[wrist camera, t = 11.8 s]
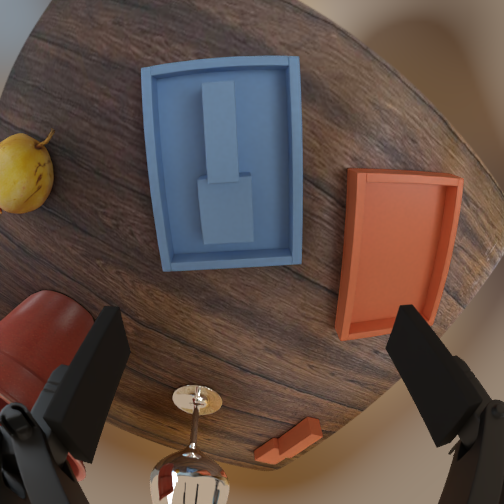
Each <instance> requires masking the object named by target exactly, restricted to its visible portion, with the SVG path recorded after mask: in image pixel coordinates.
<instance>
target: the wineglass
mask: <svg viewBox="0 0 504 504" xmlns="http://www.w3.org/2000/svg"><path fill="white" fill-rule="evenodd" d="M173 401H174V403H175V405H176V406H177V407H178V408H180V409H181V410H183V411H185V412H188V413H191V414H192V424H191V433H190V442H189V445H188V446H187V447H186V448H184V449H182V450H180V451H178V452H175V453H173V454H171V455H168V456H166V457H165V458H164V459H162V460H160V461H159V462H158V463H157V464H156V465H155V467H154V468H153V470H152V472H151V476H150V488H151V497H152V503H153V504H226V502H227V499H228V494H229V480H228V477H227V475H226V474H225V472H224V470H223V469H222V468H221V467H220V466H219V465H218V464H217V463H216V462H215V461H214V460H212V459H211V458H209V457H208V456H207V455H205V454H204V453H203V452H201V451H200V449H199V448H198V447H197V430H198V419H199V415H206V414H211V413H214V412H216V411H217V410H219V409H220V407H221V405H222V398H221V396H220V395H219V393H218V392H216V391H215V390H213V389H212V388H209V387H207V386H203V385H198V384H189V385H184V386H181V387H179V388H177V389H176V390H175V391H174V393H173Z"/></svg>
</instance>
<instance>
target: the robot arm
mask: <svg viewBox="0 0 504 504" xmlns="http://www.w3.org/2000/svg"><path fill="white" fill-rule="evenodd" d="M386 350H387V352H388V354H389V356H390V357H391V359H392V361H393V363H394V365H395V366H396V368H397V370H398V372H399V374H400V376H401V377H402V379H403V381H404V383H405V385H406V387H407V388H408V391H409V393H410V395H411V396H412V398H413V400H414V402H415V404H416V406H417V408H418V410H419V412H420V414H421V416H422V418H423V420H424V422H425V424H426V426H427V428H428V430H429V432H430V434H431V436H432V439H433V441H434V443H435V445H436V447H440V446H443V445H446V444H448V443H450V442H451V441H452V440H453V439H454V438H455V437H456V435H457V434H458V435H459V438H460V440H459V441H458V442H457V443H456V444H455V446H454V447H453V448H452V449H451V450H450V452H449V454H451V453H452V452H453V451H454V450H455V453H454V455H453V456H454V457H453V461H452V464H451V467H450V471H449V474H448V477H447V480H446V483H445V486H444V489H443V492H442V494H441V497H440V500H439V503H438V504H504V402H502V401H500V400H492V399H491V398H490V397H489V395H488V394H487V392H486V391H485V389H484V388H483V386H482V385H481V384H480V382H479V381H478V379H477V378H475V375H474V374H473V372H471V371H470V368H469V367H468V365H467V364H466V363H465V362H464V361H463V360H462V359H460V358H459V357H458V356H452V355H451V353H450V352H449V351H448V349H447V348H446V347H445V345H444V344H443V343H442V341H441V340H440V339H439V337H438V336H437V335H436V333H435V332H434V331H433V330H432V328H431V327H430V326H429V324H428V323H427V322H426V321H425V319H424V318H423V317H422V316H421V314H420V313H419V312H418V311H417V309H416V308H415V307H414V306H413V305H412V304H409V305H400V306H399V309H398V313H397V316H396V319H395V322H394V325H393V328H392V331H391V334H390V337H389V340H388V343H387V346H386ZM130 353H131V351H130V348H129V344H128V340H127V337H126V333H125V329H124V325H123V321H122V317H121V313H120V308H119V307H112V306H104V308H103V309H102V311H101V313H100V314H99V316H98V317H97V319H96V321H95V322H94V324H93V326H92V327H91V329H90V330H89V332H88V334H87V336H86V337H85V339H84V341H83V342H82V344H81V346H80V347H79V349H78V351H77V353H76V354H75V356H74V358H73V360H72V362H71V363H70V365H63V364H61V365H60V366H58V367H57V368H56V369H55V370H54V371H53V372H52V373H51V375H50V377H49V379H48V380H47V383H46V384H45V386H44V388H43V390H42V391H41V393H40V395H39V397H38V399H37V401H36V402H35V404H34V406H33V408H32V410H31V412H29V410H28V409H27V407H26V406H24V405H23V404H22V403H17V402H15V403H10V404H8V405H6V406H5V407H4V408H3V409H2V410H1V412H0V424H1V425H2V426H0V504H89V502H88V500H87V498H86V497H85V495H84V493H83V491H82V489H81V487H80V485H79V483H78V481H77V479H76V477H75V475H74V473H73V470H72V468H71V466H70V464H69V462H68V460H67V459H66V457H67V455H68V452H69V453H70V454H71V455H72V457H73V458H74V459H76V460H80V461H84V462H87V463H91V464H92V461H93V458H94V455H95V451H96V448H97V445H98V442H99V439H100V436H101V433H102V430H103V427H104V424H105V421H106V418H107V415H108V412H109V409H110V406H111V403H112V401H113V398H114V395H115V392H116V390H117V387H118V384H119V381H120V379H121V376H122V374H123V371H124V368H125V366H126V363H127V361H128V358H129V355H130Z"/></svg>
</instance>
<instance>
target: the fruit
mask: <svg viewBox="0 0 504 504" xmlns="http://www.w3.org/2000/svg"><path fill="white" fill-rule="evenodd" d="M54 133H55V130H54V129H51V132H50V133H49V135H48V136H47V138H46V140H45V141H43V142H39V141H37V140H35V139H33V138H32V137H30V136H28V135H26V134H23V133H20V134H15V135H12V136H10V137H8V138H7V139H5V140H3V141H2V142H1V143H0V213H1V214H2V209H3V210H4V211H6V212H9V213H19V214H22V213H26V212H31V211H33V210H35V209H37V208H39V207H40V206H41V205H42V204H43V203H44V202H45V200H46V199H47V197H48V196H49V194H50V192H51V189H52V185H53V180H54V174H53V165H52V162H51V158H50V155H49V153H48V151H47V149H46V148H45V146H44V145H45V144H47V143H48V142H49V141H50V139H51V138H52V136H53V134H54Z"/></svg>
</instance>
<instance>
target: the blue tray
mask: <svg viewBox="0 0 504 504" xmlns="http://www.w3.org/2000/svg"><path fill="white" fill-rule="evenodd" d="M219 81H234V82H235V100H236V121H237V142H238V162H239V173H243V172H250V173H251V177H252V200H253V224H254V242H240V243H223V244H206V245H204V244H203V236H202V227H201V217H200V206H199V196H198V184H197V180H198V178H199V177H200V176H201V175H207V166H206V151H205V136H204V119H203V100H202V83H207V82H219ZM141 84H142V105H143V120H144V133H145V145H146V156H147V165H148V175H149V183H150V191H151V199H152V206H153V214H154V220H155V227H156V233H157V240H158V246H159V252H160V257H161V263H162V268H163V272H167V271H188V270H207V269H226V268H244V267H261V266H278V265H292V264H293V265H294V264H301V263H302V223H303V149H302V108H301V82H300V63H299V57H298V56H289V57H288V56H239V57H222V58H209V59H199V60H190V61H182V62H175V63H168V64H162V65H156V66H151V67H145V68H141Z"/></svg>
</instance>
